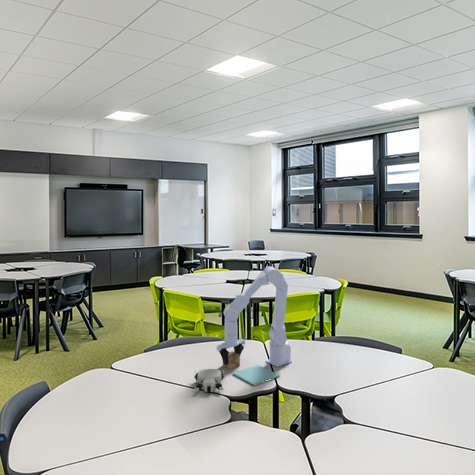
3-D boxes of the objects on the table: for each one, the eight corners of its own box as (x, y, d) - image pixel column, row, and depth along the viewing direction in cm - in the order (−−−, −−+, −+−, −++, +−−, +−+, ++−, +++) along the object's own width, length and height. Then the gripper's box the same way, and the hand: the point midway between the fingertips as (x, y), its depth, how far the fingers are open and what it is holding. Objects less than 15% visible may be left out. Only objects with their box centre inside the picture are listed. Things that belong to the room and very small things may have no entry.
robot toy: (225, 396, 160) (224, 377, 175) (224, 385, 160) (224, 367, 174) (193, 397, 160) (195, 378, 175) (192, 386, 159) (194, 367, 174)
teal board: (257, 366, 186) (257, 364, 186) (279, 376, 175) (279, 375, 175) (232, 374, 178) (232, 372, 178) (253, 386, 167) (253, 384, 167)
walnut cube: (232, 362, 191) (232, 351, 191) (239, 366, 187) (239, 354, 186) (222, 365, 188) (222, 353, 187) (229, 369, 184) (229, 357, 183)
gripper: (238, 328, 194) (238, 356, 195) (212, 334, 185) (212, 363, 186) (247, 331, 188) (248, 360, 189) (221, 338, 179) (221, 368, 180)
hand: (231, 362), depth 187 cm, fingers open, 6 cm apart
